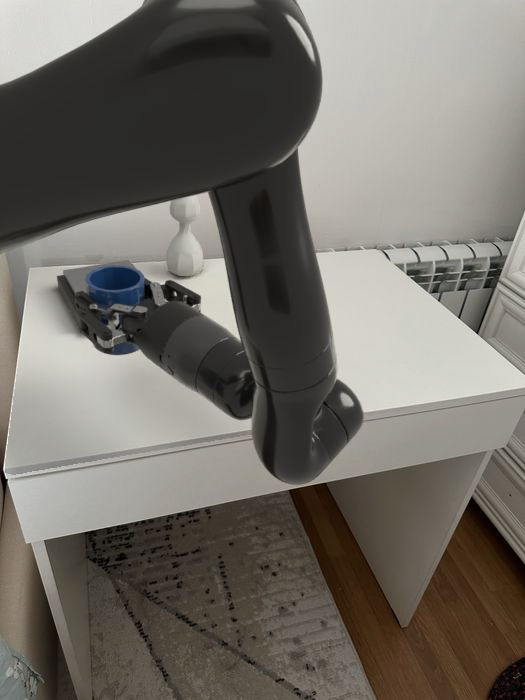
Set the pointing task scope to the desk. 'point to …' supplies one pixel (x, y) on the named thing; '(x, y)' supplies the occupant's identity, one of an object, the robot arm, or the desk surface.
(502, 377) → the desk surface
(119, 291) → the cup
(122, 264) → the scale pan
